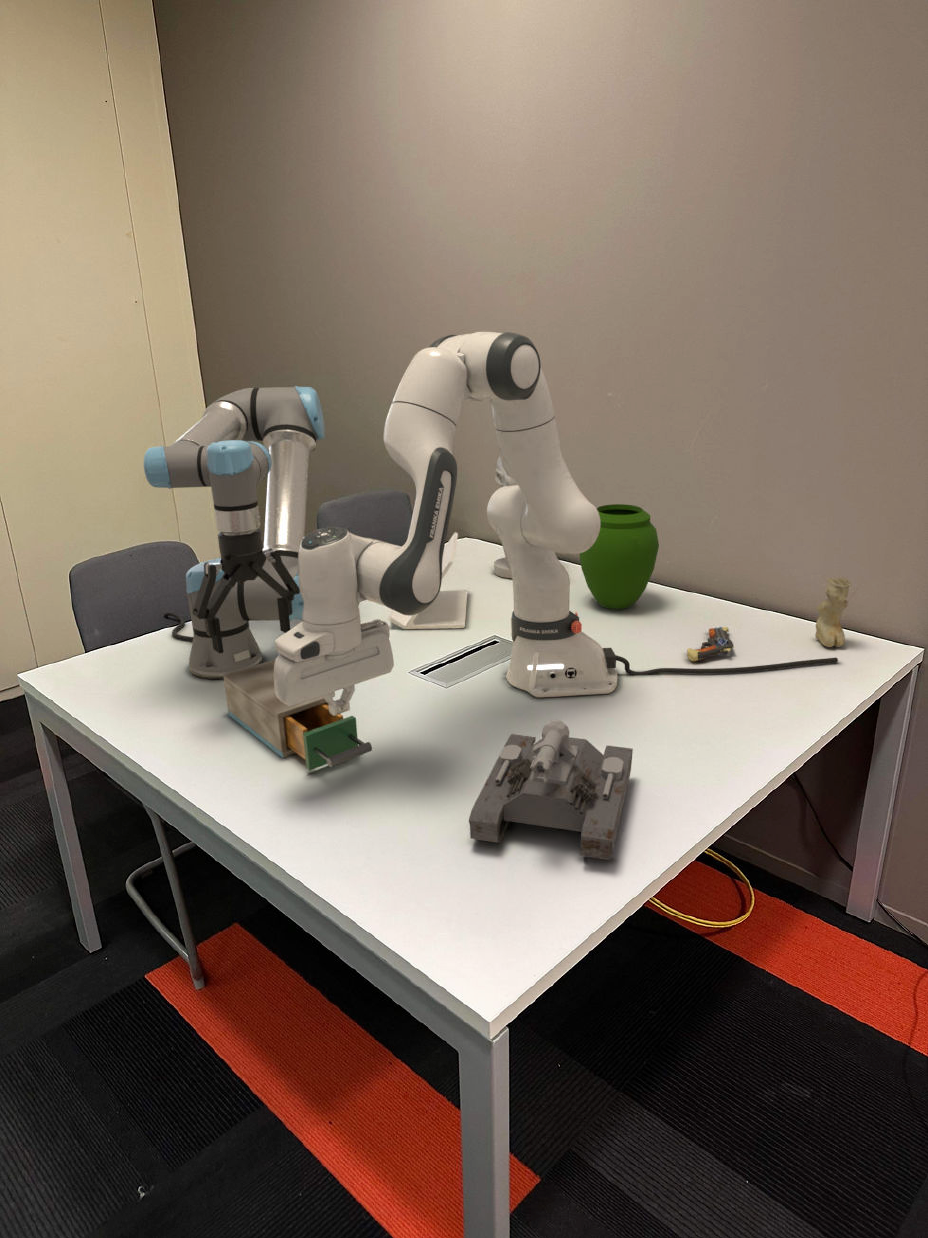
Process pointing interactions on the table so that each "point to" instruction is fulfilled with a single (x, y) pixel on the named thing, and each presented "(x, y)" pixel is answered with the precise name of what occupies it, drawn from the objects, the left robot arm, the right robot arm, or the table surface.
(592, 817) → the toy
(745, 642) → the table surface
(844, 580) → the sculpture
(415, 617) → the tablet stand
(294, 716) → the drawer
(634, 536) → the vase
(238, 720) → the cabinet
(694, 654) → the toy gun
